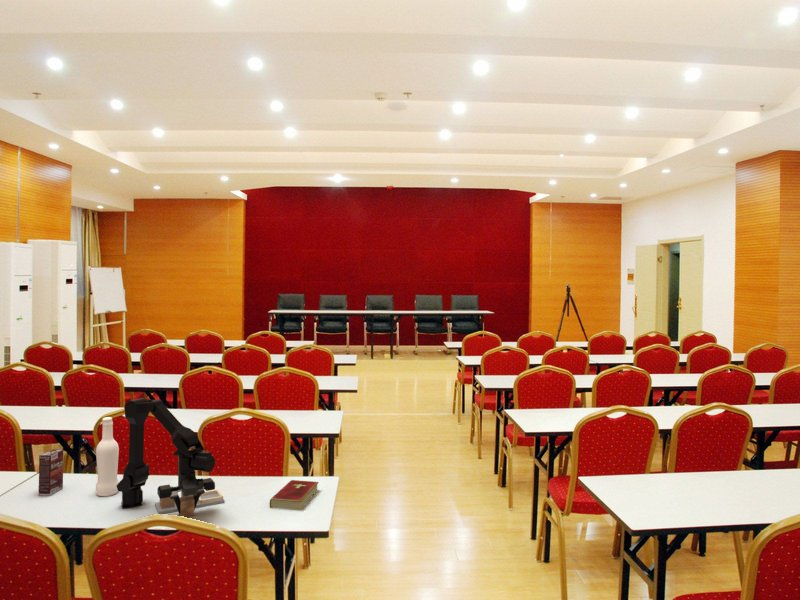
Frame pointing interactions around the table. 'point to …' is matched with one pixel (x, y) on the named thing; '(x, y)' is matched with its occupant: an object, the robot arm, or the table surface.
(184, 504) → the walnut block
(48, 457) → the supplement box
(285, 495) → the hardcover book
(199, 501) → the holder
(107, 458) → the bottle
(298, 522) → the table surface
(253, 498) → the table surface
